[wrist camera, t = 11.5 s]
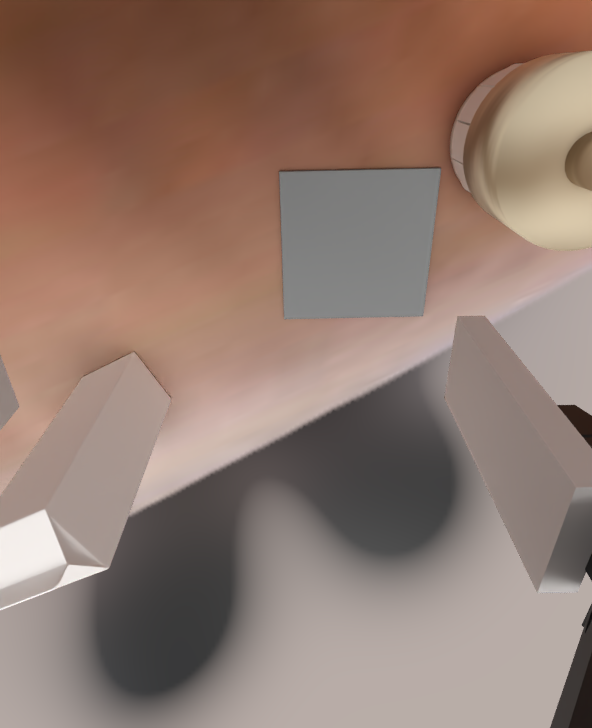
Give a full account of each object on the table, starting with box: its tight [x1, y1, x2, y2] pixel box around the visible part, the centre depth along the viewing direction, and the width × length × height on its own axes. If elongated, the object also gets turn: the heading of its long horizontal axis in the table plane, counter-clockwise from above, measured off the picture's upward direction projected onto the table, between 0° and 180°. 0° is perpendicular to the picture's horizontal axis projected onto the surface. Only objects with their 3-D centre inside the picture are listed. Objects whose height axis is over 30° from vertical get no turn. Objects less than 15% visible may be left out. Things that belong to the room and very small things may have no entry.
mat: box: [279, 168, 441, 319], centre depth 40 cm, size 12×12×1 cm
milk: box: [0, 352, 171, 610], centre depth 37 cm, size 6×6×22 cm
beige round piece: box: [463, 51, 592, 251], centre depth 28 cm, size 10×10×8 cm
